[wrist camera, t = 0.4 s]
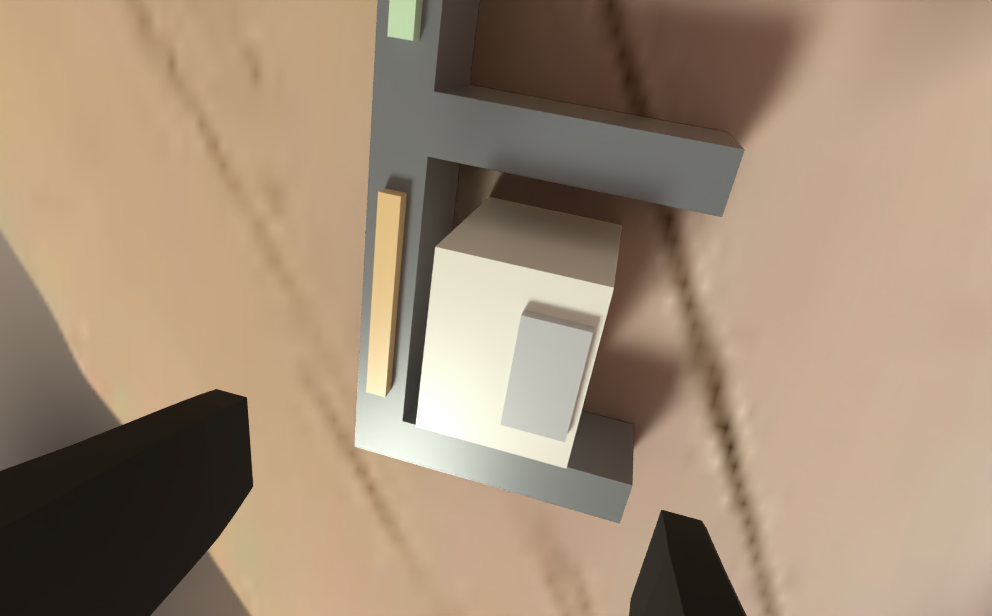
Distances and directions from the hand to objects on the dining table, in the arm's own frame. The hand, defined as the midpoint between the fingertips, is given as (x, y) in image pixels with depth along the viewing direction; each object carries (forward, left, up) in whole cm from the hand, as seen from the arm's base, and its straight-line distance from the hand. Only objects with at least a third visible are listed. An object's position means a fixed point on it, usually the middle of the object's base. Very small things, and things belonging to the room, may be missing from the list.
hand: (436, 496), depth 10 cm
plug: (0, 0, -9) cm, 9 cm away
